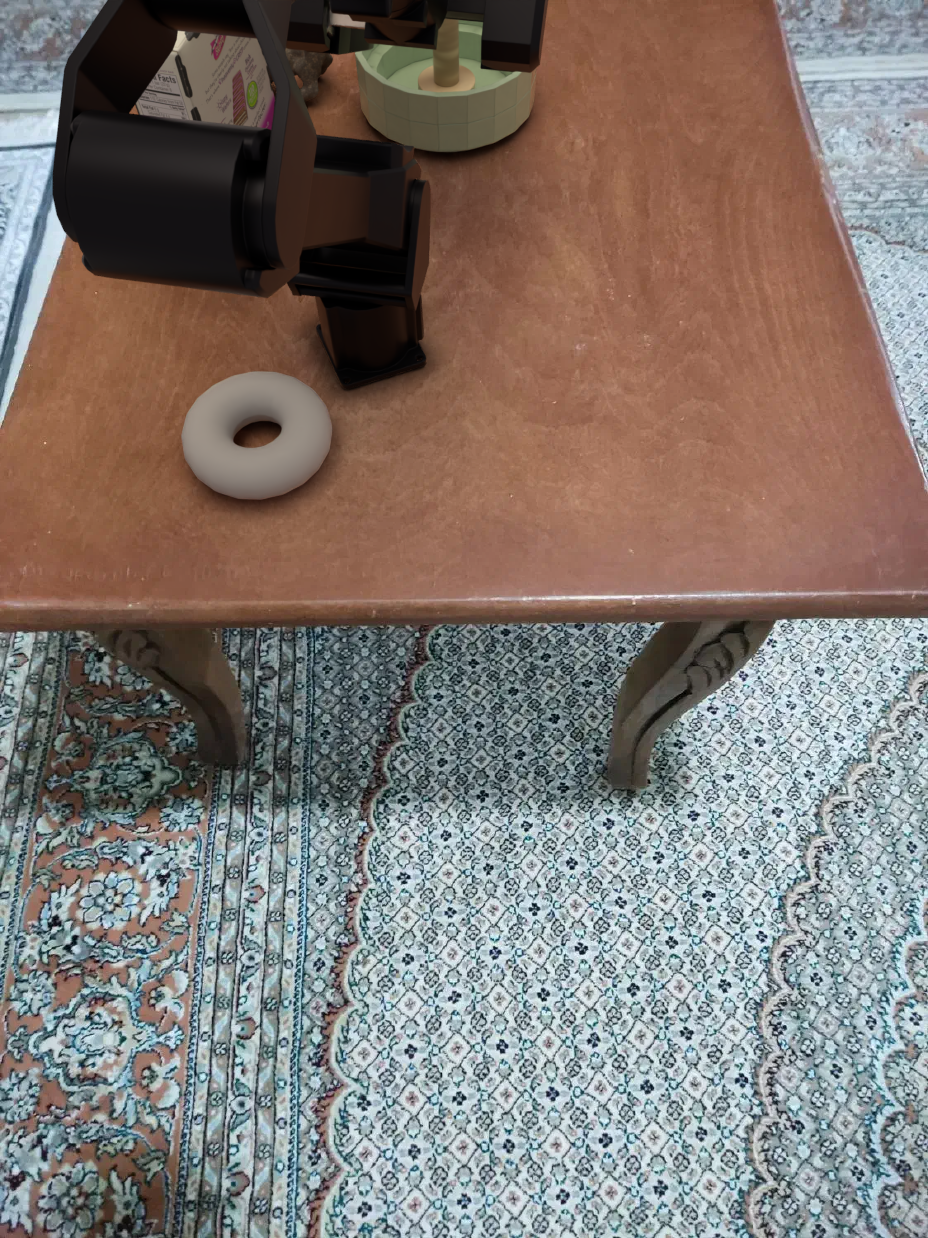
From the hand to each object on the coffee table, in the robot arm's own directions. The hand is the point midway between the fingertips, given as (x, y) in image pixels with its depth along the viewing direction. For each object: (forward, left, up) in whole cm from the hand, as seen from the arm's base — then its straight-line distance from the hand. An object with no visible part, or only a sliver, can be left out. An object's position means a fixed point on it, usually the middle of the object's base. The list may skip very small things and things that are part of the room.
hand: (429, 46), depth 68 cm
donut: (-23, -26, -8) cm, 36 cm away
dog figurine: (-11, +13, -8) cm, 19 cm away
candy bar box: (-18, -2, -9) cm, 20 cm away
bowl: (+3, +5, -8) cm, 10 cm away
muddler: (+3, +5, -8) cm, 10 cm away
